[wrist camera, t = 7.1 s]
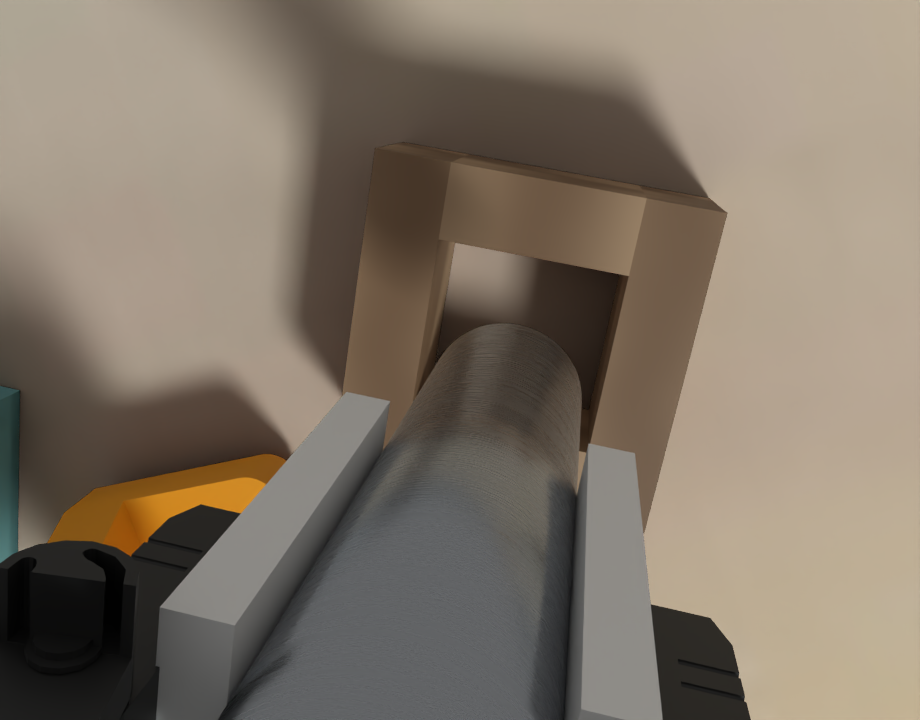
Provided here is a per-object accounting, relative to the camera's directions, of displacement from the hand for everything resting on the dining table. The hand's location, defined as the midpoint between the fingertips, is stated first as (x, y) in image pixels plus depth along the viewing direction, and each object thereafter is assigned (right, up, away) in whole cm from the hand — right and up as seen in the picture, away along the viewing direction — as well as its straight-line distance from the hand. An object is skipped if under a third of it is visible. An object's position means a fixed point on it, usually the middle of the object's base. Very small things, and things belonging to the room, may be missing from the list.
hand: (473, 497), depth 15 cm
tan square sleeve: (+2, +4, +12) cm, 13 cm away
